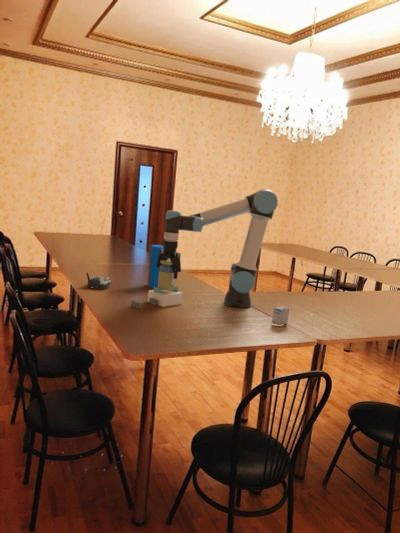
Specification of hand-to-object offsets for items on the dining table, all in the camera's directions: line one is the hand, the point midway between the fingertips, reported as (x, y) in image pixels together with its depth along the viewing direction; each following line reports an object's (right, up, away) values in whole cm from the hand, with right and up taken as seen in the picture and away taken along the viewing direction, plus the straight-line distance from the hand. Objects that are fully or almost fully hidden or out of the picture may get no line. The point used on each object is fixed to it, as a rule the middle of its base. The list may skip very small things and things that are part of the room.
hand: (167, 282), depth 242 cm
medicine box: (+56, -20, -18) cm, 62 cm away
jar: (0, -4, 0) cm, 4 cm away
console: (-6, -11, -3) cm, 13 cm away
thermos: (-9, -4, +40) cm, 41 cm away
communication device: (-41, -3, +28) cm, 50 cm away
